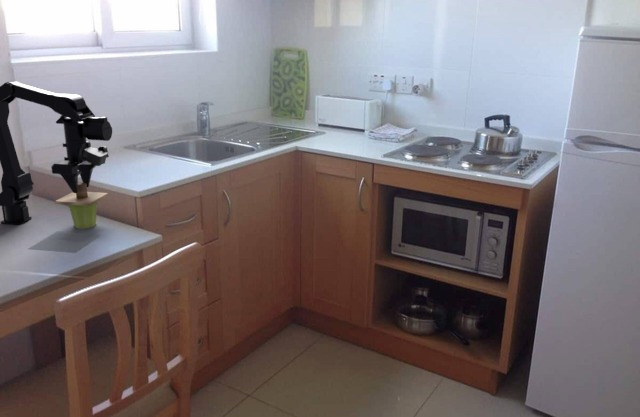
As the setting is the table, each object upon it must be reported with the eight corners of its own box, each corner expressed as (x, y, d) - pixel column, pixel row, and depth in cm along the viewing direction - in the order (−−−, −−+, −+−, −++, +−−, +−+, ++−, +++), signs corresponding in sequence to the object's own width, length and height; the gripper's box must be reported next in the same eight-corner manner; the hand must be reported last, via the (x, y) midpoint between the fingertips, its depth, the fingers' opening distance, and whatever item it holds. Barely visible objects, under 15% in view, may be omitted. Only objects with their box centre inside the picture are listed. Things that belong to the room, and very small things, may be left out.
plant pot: (107, 222, 182) (104, 195, 179) (92, 232, 173) (90, 204, 170) (78, 220, 182) (75, 194, 180) (63, 230, 173) (59, 203, 171)
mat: (28, 250, 158) (27, 248, 158) (57, 232, 171) (57, 231, 171) (75, 254, 157) (75, 252, 156) (101, 236, 170) (101, 234, 170)
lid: (55, 203, 170) (53, 188, 169) (75, 193, 181) (73, 178, 179) (90, 206, 169) (88, 190, 167) (108, 195, 179) (106, 180, 178)
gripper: (84, 146, 159) (90, 200, 164) (116, 134, 177) (120, 183, 182) (47, 144, 161) (53, 198, 165) (82, 132, 178) (87, 181, 183)
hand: (81, 190), depth 174 cm, fingers open, 6 cm apart
